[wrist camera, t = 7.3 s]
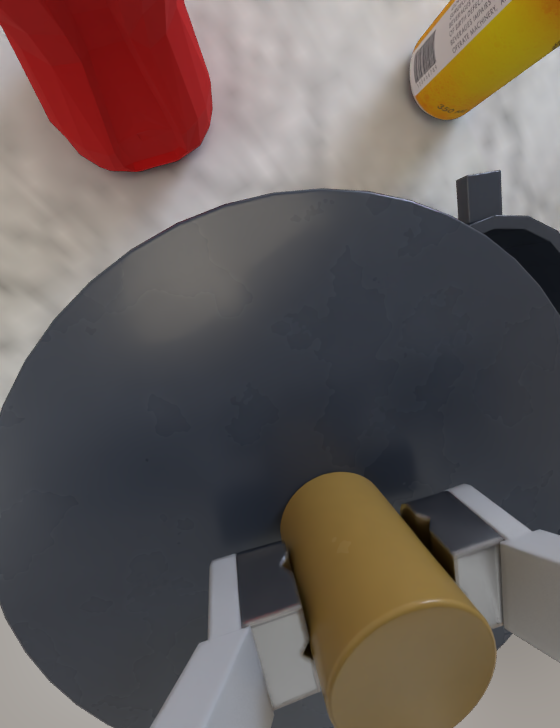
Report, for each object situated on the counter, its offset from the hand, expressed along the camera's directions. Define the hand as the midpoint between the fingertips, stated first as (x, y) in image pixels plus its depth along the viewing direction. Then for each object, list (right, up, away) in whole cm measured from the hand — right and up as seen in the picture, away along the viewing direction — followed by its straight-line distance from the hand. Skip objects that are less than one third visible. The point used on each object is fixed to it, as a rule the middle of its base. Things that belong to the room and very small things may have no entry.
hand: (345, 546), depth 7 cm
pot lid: (0, 0, +1) cm, 2 cm away
